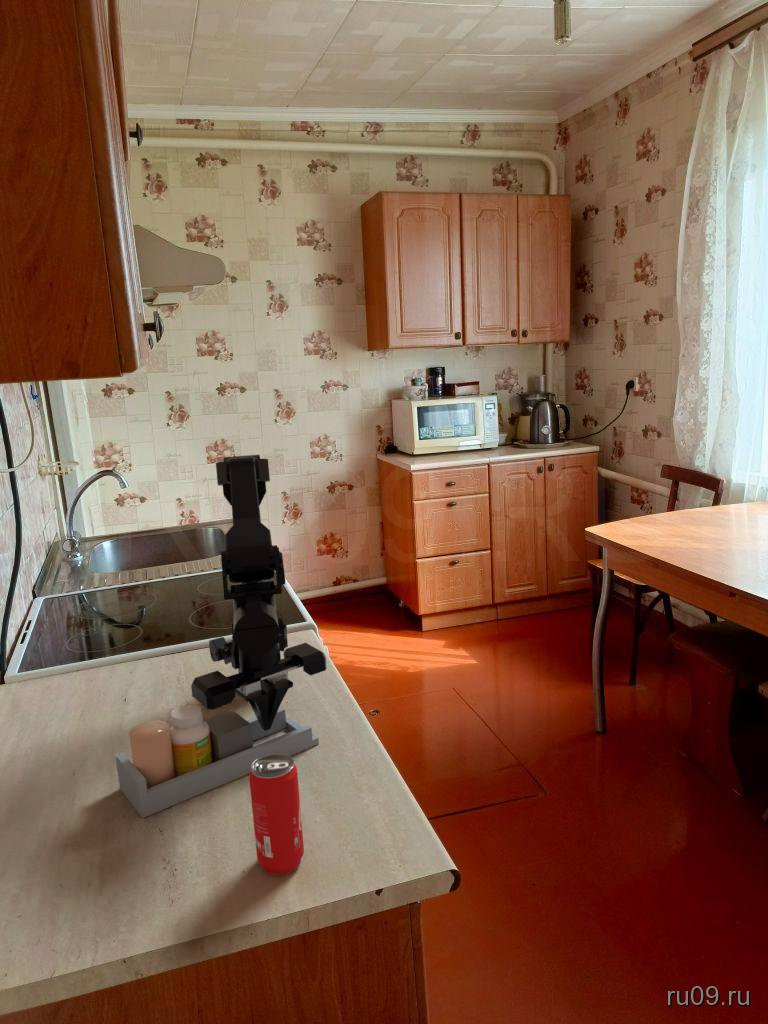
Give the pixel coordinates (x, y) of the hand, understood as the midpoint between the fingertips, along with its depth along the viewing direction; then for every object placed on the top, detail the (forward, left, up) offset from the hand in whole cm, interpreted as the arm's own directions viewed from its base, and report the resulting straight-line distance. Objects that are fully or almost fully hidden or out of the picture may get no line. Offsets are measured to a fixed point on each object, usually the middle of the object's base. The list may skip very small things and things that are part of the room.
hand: (266, 729), depth 107 cm
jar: (+17, 0, -3) cm, 17 cm away
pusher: (+6, 0, -3) cm, 7 cm away
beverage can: (+11, +23, -3) cm, 26 cm away
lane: (+7, 0, -3) cm, 8 cm away
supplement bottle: (+11, 0, -3) cm, 12 cm away
